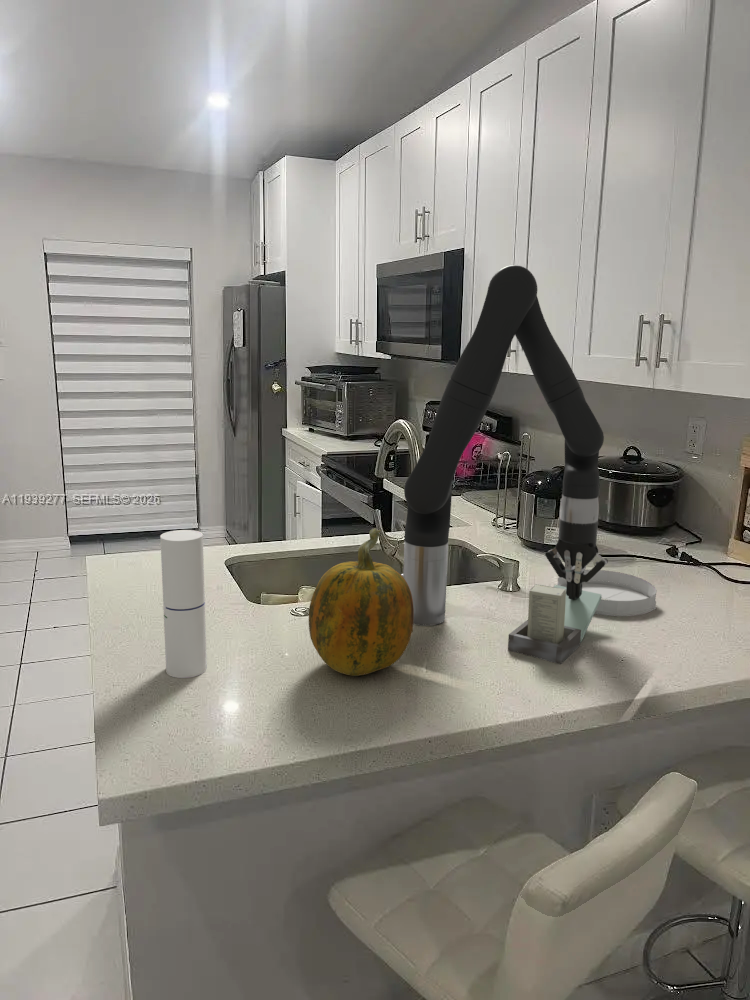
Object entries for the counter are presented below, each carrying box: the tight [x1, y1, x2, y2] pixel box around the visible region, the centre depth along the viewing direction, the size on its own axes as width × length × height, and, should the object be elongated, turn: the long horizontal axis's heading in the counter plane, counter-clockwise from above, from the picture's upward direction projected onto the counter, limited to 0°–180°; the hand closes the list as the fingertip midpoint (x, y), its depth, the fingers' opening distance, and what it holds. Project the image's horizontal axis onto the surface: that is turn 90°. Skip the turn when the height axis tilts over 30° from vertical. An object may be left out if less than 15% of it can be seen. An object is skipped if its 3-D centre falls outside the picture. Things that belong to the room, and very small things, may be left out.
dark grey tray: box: [507, 619, 581, 665], centre depth 150 cm, size 20×28×4 cm
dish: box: [557, 569, 657, 617], centre depth 173 cm, size 22×22×5 cm
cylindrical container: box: [159, 529, 208, 679], centre depth 133 cm, size 7×7×25 cm
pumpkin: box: [308, 527, 414, 677], centre depth 135 cm, size 19×19×25 cm
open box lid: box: [553, 584, 602, 644], centre depth 154 cm, size 10×13×1 cm
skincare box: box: [527, 584, 566, 645], centre depth 144 cm, size 6×4×12 cm
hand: (573, 598), depth 156 cm, fingers closed
